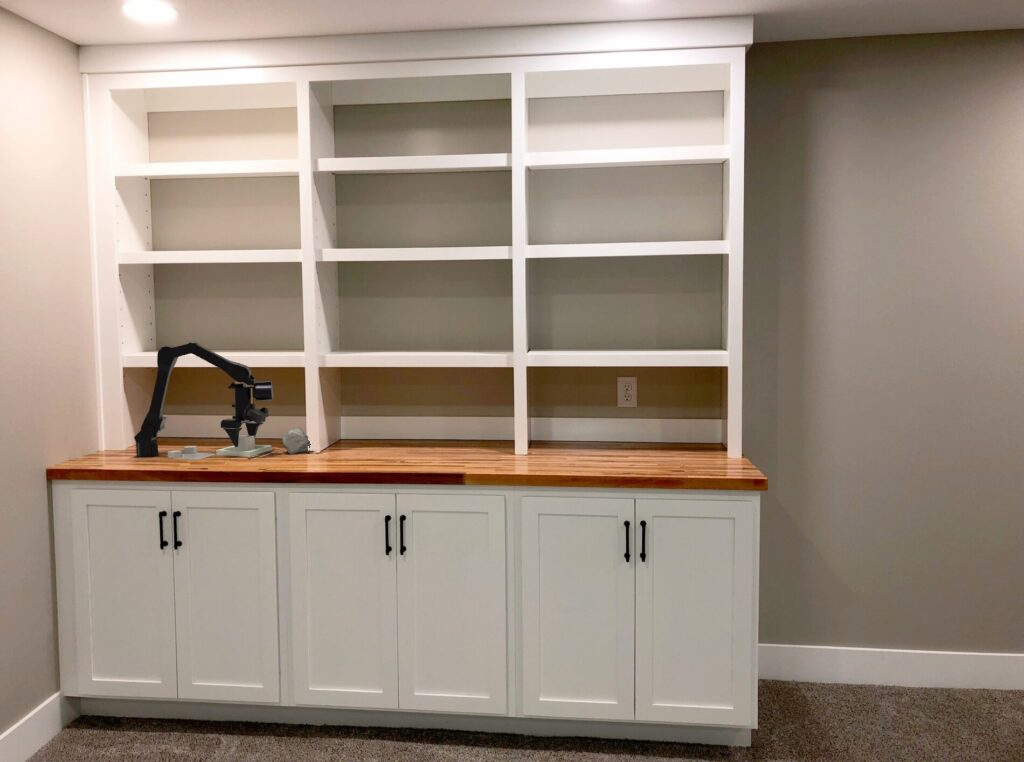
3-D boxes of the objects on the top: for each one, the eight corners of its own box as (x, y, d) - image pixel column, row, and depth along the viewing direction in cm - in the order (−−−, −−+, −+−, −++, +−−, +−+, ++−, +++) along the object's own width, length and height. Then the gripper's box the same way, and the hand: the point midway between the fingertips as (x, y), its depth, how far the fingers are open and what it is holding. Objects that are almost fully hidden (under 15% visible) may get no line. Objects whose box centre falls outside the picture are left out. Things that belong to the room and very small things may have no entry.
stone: (300, 422, 306) (285, 426, 297) (319, 441, 305) (305, 445, 295) (285, 441, 308) (270, 445, 299) (304, 460, 307) (290, 464, 297)
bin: (216, 457, 294) (216, 450, 293) (240, 450, 307) (239, 443, 306) (249, 459, 290) (249, 452, 289) (272, 452, 302) (272, 445, 302)
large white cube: (234, 454, 296) (233, 437, 296) (242, 451, 301) (242, 435, 301) (246, 454, 295) (245, 437, 294) (255, 452, 300) (254, 435, 299)
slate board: (165, 460, 288) (165, 451, 288) (189, 454, 299) (188, 445, 299) (196, 462, 284) (196, 453, 284) (219, 456, 296) (219, 447, 295)
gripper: (246, 405, 285) (248, 450, 286) (277, 398, 303) (279, 441, 304) (218, 403, 288) (220, 448, 290) (251, 397, 306) (252, 440, 308)
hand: (244, 444), depth 298 cm, fingers open, 9 cm apart
